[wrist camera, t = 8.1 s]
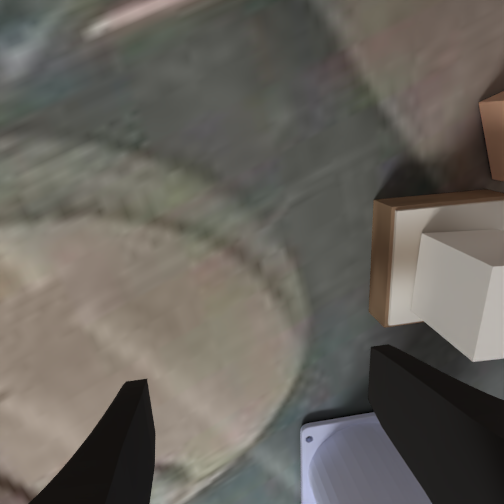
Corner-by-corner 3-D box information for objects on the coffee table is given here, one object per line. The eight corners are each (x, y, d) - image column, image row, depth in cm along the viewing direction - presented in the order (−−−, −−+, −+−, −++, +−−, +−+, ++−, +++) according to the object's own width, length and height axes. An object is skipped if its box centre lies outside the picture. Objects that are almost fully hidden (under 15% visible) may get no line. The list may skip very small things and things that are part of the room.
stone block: (481, 304, 23) (559, 351, 18) (410, 310, 22) (472, 361, 17) (497, 229, 21) (586, 260, 17) (421, 233, 21) (492, 266, 16)
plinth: (468, 295, 26) (497, 313, 23) (366, 309, 25) (386, 329, 22) (482, 188, 23) (516, 196, 21) (371, 198, 22) (393, 207, 20)
